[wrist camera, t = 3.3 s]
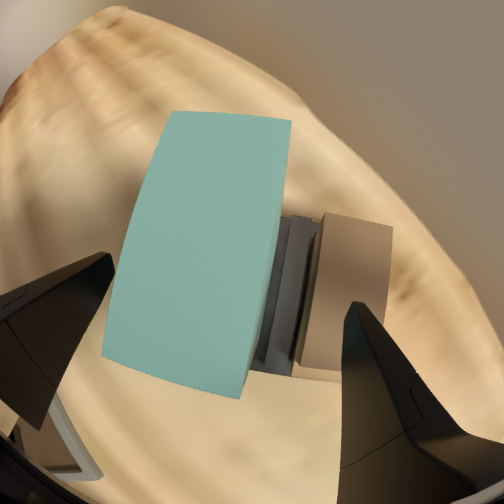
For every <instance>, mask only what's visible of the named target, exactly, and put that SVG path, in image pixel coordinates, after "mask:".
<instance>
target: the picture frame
mask: <svg viewBox="0 0 504 504" xmlns="http://www.w3.org/2000/svg"><path fill="white" fill-rule="evenodd" d="M16 423H17V424H18V425H19V426H20V431H21V436H22V441H23V445H24V449H25V451H24V452H25V453H26V454H27V455H29V456H30V457H31V458H32V459H33V460H35V461H36V462H37V463H38V464H40V465H41V466H42V467H44V468H45V469H46V470H48V471H49V472H50V473H52V474H53V475H54V476H56V477H57V478H59V479H60V480H62V481H95V480H100V479H101V478H102V477H103V476H104V475H103V473H102V472H101V470H100V469H99V467H98V466H97V464H96V463H95V461H94V460H93V458H92V457H91V455H90V454H89V452H88V450H87V449H86V447H85V445H84V444H83V442H82V440H81V439H80V437H79V435H78V433H77V432H76V430H75V428H74V426H73V424H72V423H71V421H70V419H69V417H68V415H67V413H66V411H65V409H64V407H63V405H62V403H61V400H60V398H59V396H58V394H57V392H56V393H55V395H54V398H53V400H52V402H51V405H50V407H49V410H48V412H47V415H46V417H45V420H44V422H43V425H42V428H41V430H40V431H38V430H36V429H35V428H34V427H32V426H31V425H30V424H28V423H27V422H26V421H25V420H23V419H22V418H21V417H20V416H19V418H18V420H17V422H16Z"/></svg>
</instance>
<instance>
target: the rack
mask: <svg viewBox="0 0 504 504" xmlns="http://www.w3.org/2000/svg"><path fill="white" fill-rule="evenodd" d="M320 226H321V224H317V223H312V219H311V218H306V217H301V216H295V215H292V218H291V219H290V218H284V217H280V224H279V232H278V239H277V246H276V252H275V257H274V263H273V268H272V274H271V279H270V284H269V290H268V295H267V300H266V305H265V310H264V315H263V321H262V326H261V331H260V336H259V340H258V343H257V347H256V350H255V353H254V356H253V359H252V362H251V365H250V368H249V370H254V371H259V372H265V373H271V374H276V375H283V376H289V377H291V375H290V373H289V371H290V367H291V359H292V354H293V349H294V344H295V339H296V334H297V329H298V324H299V319H300V314H301V308H302V303H303V297H304V291H305V285H306V279H307V273H308V267H309V260H310V254H311V247H312V240H313V236H314V234H315V233H316V232H320ZM296 378H297V377H296ZM303 379H304V378H303ZM311 380H312V379H311ZM319 381H320V380H319ZM329 382H330V381H329ZM339 383H340V382H339Z"/></svg>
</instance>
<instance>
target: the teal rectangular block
mask: <svg viewBox="0 0 504 504" xmlns="http://www.w3.org/2000/svg"><path fill="white" fill-rule="evenodd" d="M291 123H292V121H290V120H284V119H277V118H269V117H261V116H252V115H242V114H230V113H214V112H188V111H172V113H171V115H170V117H169V119H168V122H167V124H166V126H165V128H164V131H163V133H162V135H161V138H160V140H159V142H158V145H157V147H156V150H155V152H154V154H153V157H152V159H151V162H150V165H149V167H148V170H147V173H146V175H145V178H144V181H143V183H142V186H141V189H140V192H139V195H138V198H137V201H136V204H135V207H134V210H133V213H132V216H131V220H130V223H129V226H128V230H127V233H126V237H125V240H124V244H123V248H122V251H121V255H120V259H119V263H118V267H117V271H116V276H115V280H114V284H113V289H112V294H111V299H110V304H109V309H108V315H107V320H106V326H105V333H104V339H103V347H102V354H101V356H103V357H105V358H107V359H110V360H112V361H114V362H117V363H119V364H122V365H124V366H127V367H130V368H132V369H135V370H138V371H140V372H143V373H146V374H149V375H152V376H155V377H158V378H161V379H164V380H167V381H170V382H173V383H176V384H180V385H183V386H186V387H190V388H194V389H197V390H201V391H205V392H209V393H213V394H217V395H221V396H225V397H230V398H234V399H240V396H241V393H242V390H243V387H244V384H245V381H246V378H247V375H248V371H249V368H250V365H251V362H252V359H253V356H254V353H255V350H256V347H257V343H258V340H259V336H260V331H261V326H262V321H263V315H264V310H265V305H266V300H267V295H268V290H269V284H270V279H271V274H272V268H273V263H274V257H275V252H276V246H277V239H278V232H279V224H280V216H281V209H282V201H283V193H284V185H285V176H286V168H287V159H288V151H289V142H290V132H291Z"/></svg>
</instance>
